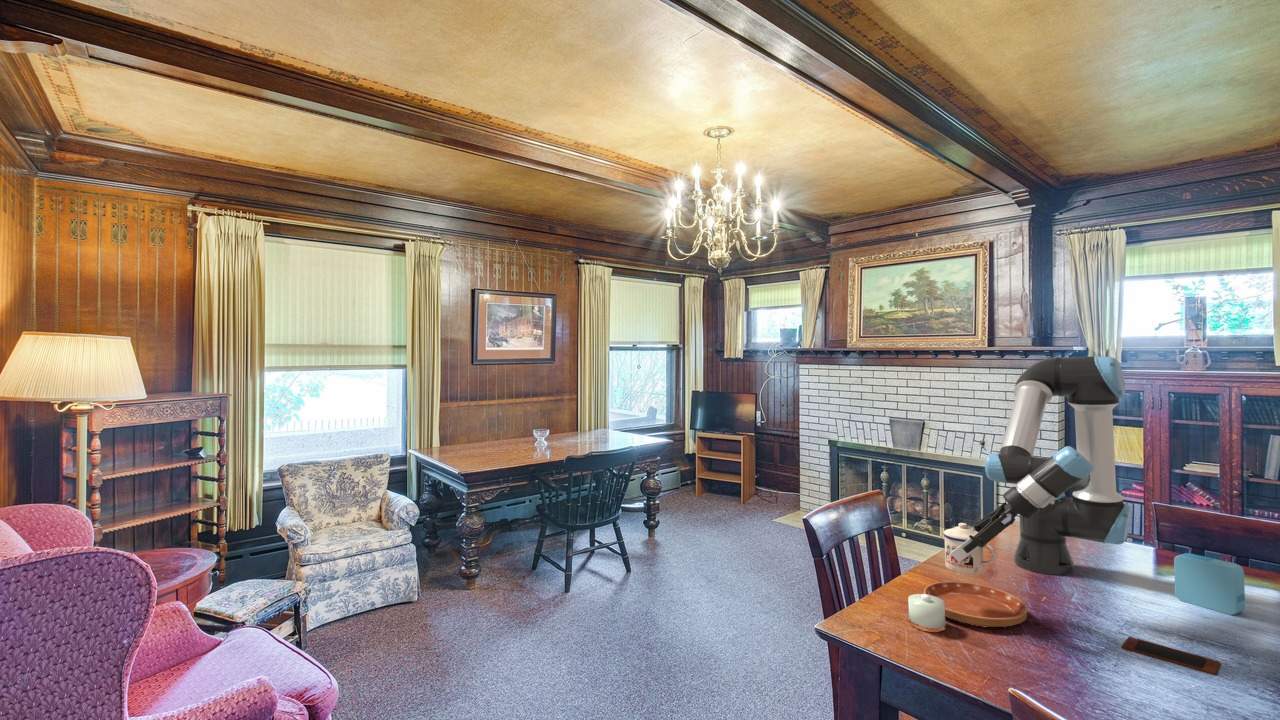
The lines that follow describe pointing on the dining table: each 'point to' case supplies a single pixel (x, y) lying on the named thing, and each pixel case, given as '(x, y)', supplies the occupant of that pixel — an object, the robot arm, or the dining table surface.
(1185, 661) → the smartphone
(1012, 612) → the saucer
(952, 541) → the teacup with lid
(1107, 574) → the dining table surface
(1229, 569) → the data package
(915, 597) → the sugar bowl
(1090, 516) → the robot arm
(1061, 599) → the dining table surface
